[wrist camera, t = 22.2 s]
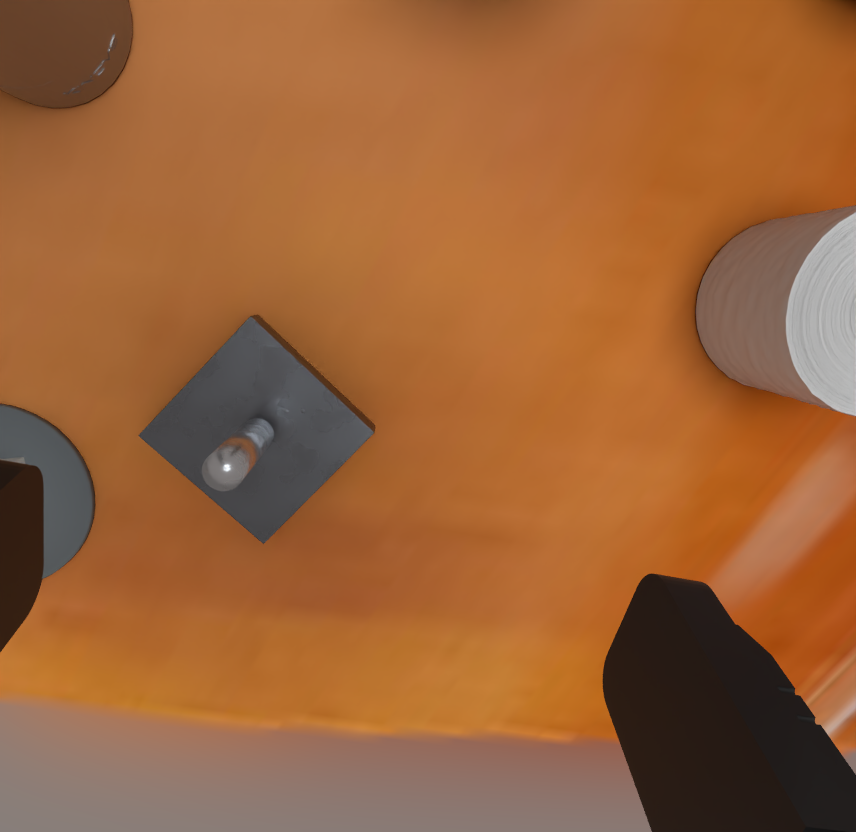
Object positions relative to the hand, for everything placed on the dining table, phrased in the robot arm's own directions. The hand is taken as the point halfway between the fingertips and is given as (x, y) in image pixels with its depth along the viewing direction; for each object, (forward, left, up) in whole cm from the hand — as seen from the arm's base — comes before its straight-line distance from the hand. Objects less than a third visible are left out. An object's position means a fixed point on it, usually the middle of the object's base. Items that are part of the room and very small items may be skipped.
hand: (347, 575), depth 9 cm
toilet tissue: (+16, +20, -33) cm, 42 cm away
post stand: (-2, -9, -33) cm, 34 cm away
